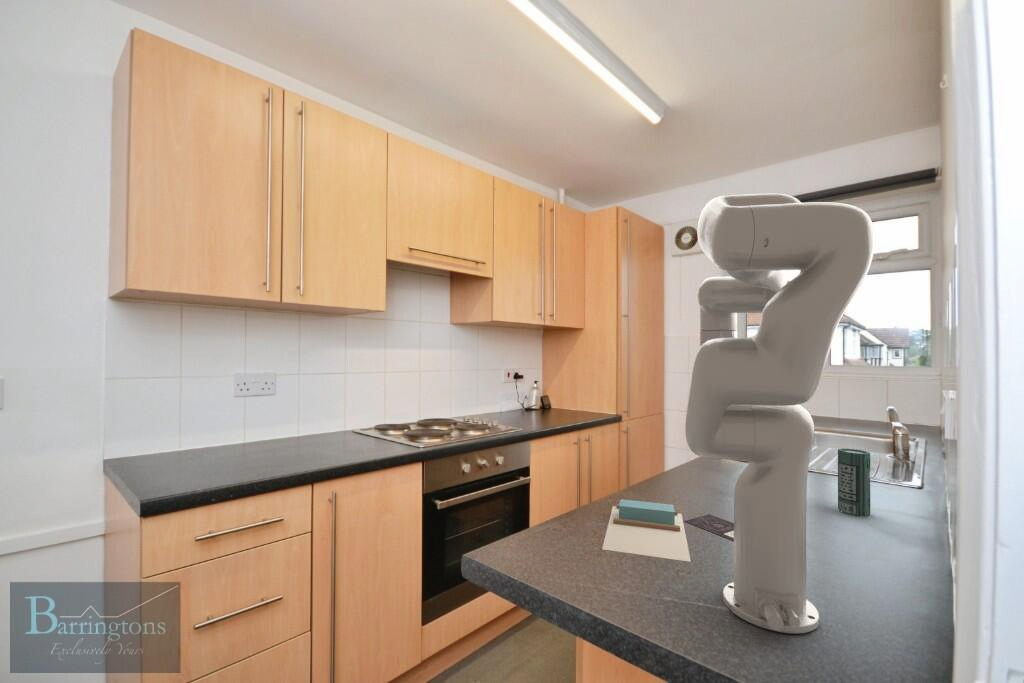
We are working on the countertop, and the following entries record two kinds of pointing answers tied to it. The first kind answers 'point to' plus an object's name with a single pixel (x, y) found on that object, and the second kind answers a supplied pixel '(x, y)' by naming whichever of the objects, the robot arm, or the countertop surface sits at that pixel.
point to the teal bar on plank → (647, 512)
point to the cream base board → (647, 537)
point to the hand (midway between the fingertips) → (718, 417)
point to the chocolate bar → (714, 525)
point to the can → (854, 482)
